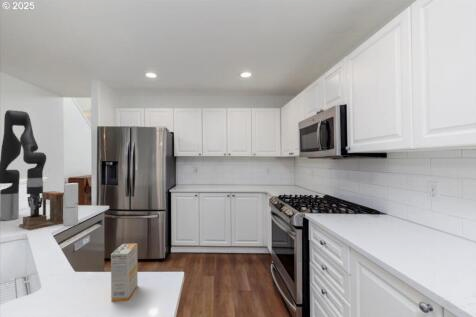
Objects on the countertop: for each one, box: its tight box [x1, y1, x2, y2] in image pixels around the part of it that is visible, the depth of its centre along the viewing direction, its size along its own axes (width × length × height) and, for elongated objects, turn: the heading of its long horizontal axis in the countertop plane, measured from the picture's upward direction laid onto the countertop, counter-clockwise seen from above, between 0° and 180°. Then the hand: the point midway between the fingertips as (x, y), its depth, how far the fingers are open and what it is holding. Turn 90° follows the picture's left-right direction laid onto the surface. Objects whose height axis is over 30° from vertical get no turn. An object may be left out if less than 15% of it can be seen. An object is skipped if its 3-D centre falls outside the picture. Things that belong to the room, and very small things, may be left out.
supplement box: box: [110, 243, 139, 302], centre depth 70 cm, size 8×5×13 cm, turn 5°
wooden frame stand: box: [18, 190, 64, 231], centre depth 147 cm, size 15×18×19 cm
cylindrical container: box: [63, 182, 79, 227], centre depth 148 cm, size 7×7×25 cm
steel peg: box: [29, 201, 39, 218], centre depth 144 cm, size 4×4×12 cm
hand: (34, 214), depth 144 cm, fingers closed on steel peg, 4 cm apart
